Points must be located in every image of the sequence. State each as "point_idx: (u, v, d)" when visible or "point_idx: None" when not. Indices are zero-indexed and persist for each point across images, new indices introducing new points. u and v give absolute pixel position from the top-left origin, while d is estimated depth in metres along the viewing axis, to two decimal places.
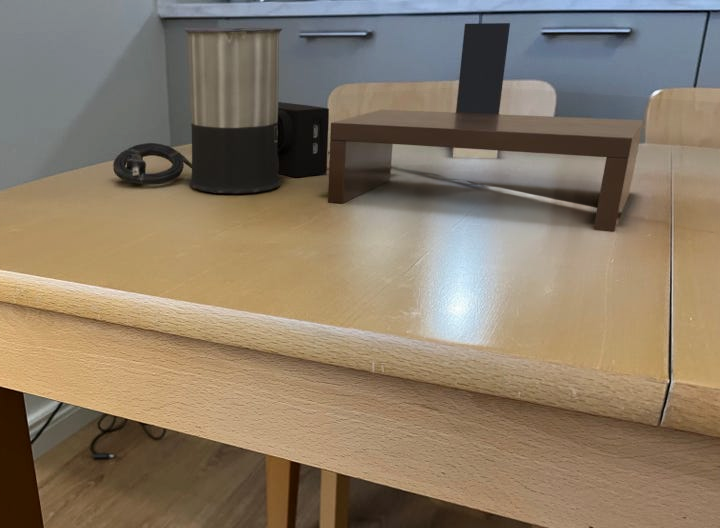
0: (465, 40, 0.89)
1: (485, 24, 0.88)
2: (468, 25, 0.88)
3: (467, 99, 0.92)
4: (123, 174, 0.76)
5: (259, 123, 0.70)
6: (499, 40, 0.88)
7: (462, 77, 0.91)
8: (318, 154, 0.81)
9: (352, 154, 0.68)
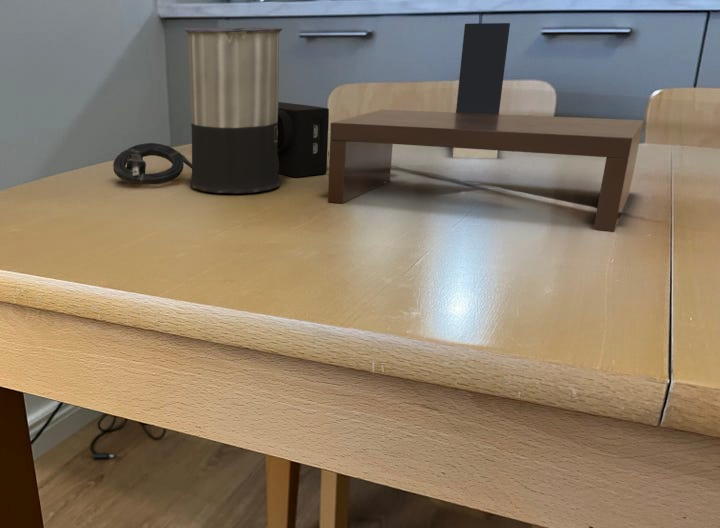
0: (465, 40, 0.89)
1: (485, 24, 0.88)
2: (468, 25, 0.88)
3: (467, 99, 0.92)
4: (123, 174, 0.76)
5: (259, 123, 0.70)
6: (499, 40, 0.88)
7: (462, 77, 0.91)
8: (318, 154, 0.81)
9: (352, 154, 0.68)
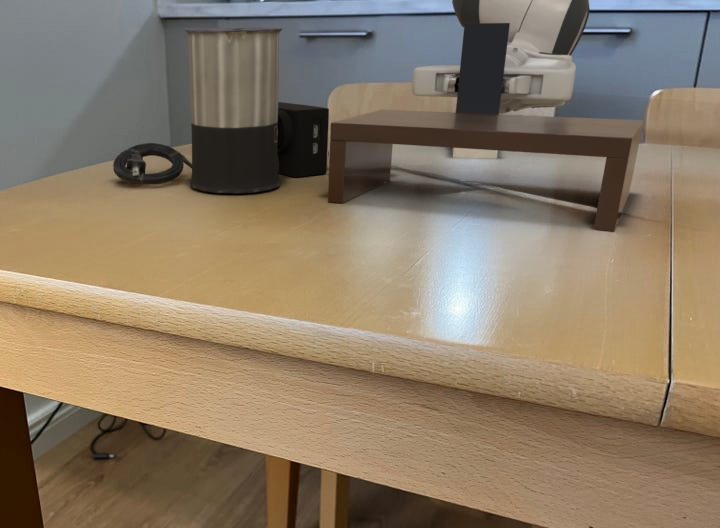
0: (465, 40, 0.89)
1: (485, 24, 0.88)
2: (468, 25, 0.88)
3: (467, 99, 0.92)
4: (123, 174, 0.76)
5: (259, 123, 0.70)
6: (499, 40, 0.88)
7: (462, 77, 0.91)
8: (318, 154, 0.81)
9: (352, 154, 0.68)
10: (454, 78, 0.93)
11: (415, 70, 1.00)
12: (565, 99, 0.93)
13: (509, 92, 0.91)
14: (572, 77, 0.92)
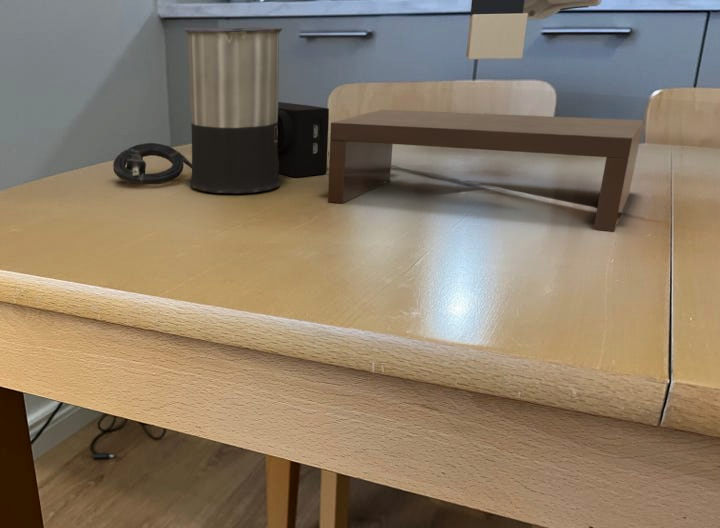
0: None
1: None
2: None
3: None
4: (123, 174, 0.76)
5: (259, 123, 0.70)
6: None
7: None
8: (318, 154, 0.81)
9: (352, 154, 0.68)
10: None
11: None
12: None
13: None
14: None
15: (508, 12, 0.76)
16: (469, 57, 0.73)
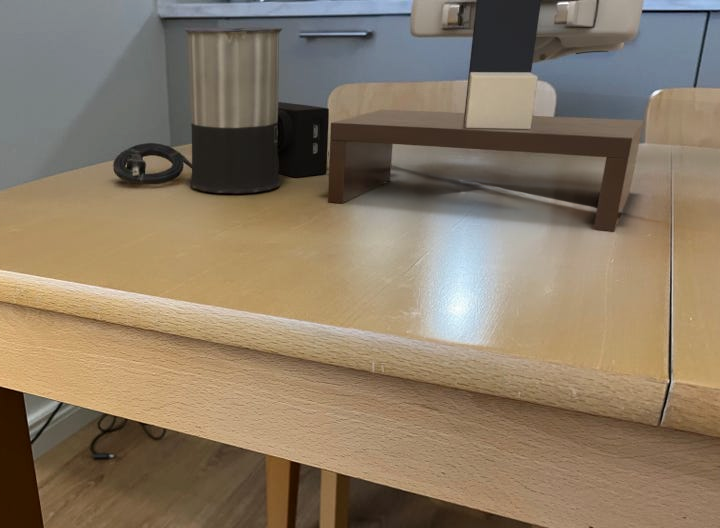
0: None
1: None
2: None
3: (487, 41, 0.64)
4: (123, 174, 0.76)
5: (259, 123, 0.70)
6: None
7: (480, 7, 0.63)
8: (318, 154, 0.81)
9: (352, 154, 0.68)
10: (457, 5, 0.66)
11: (415, 0, 0.72)
12: (630, 34, 0.65)
13: (567, 22, 0.62)
14: (641, 1, 0.63)
15: (514, 69, 0.64)
16: (467, 126, 0.61)
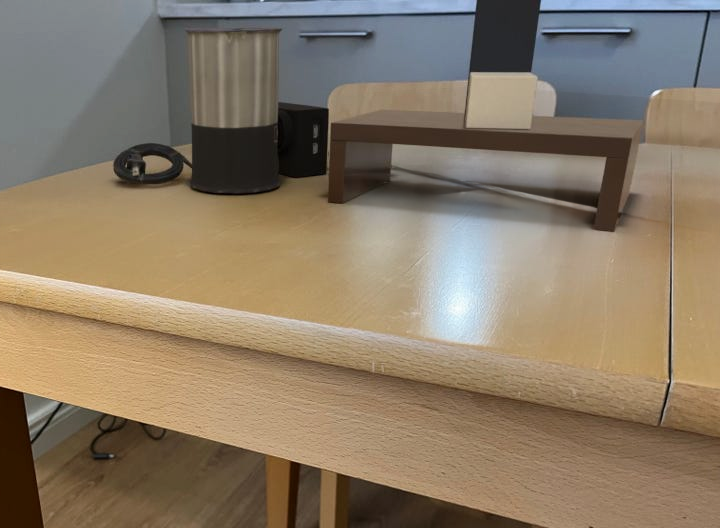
0: None
1: None
2: None
3: (487, 41, 0.64)
4: (123, 174, 0.76)
5: (259, 123, 0.70)
6: None
7: (480, 7, 0.63)
8: (318, 154, 0.81)
9: (352, 154, 0.68)
10: None
11: None
12: None
13: None
14: None
15: (514, 69, 0.64)
16: (467, 126, 0.61)
